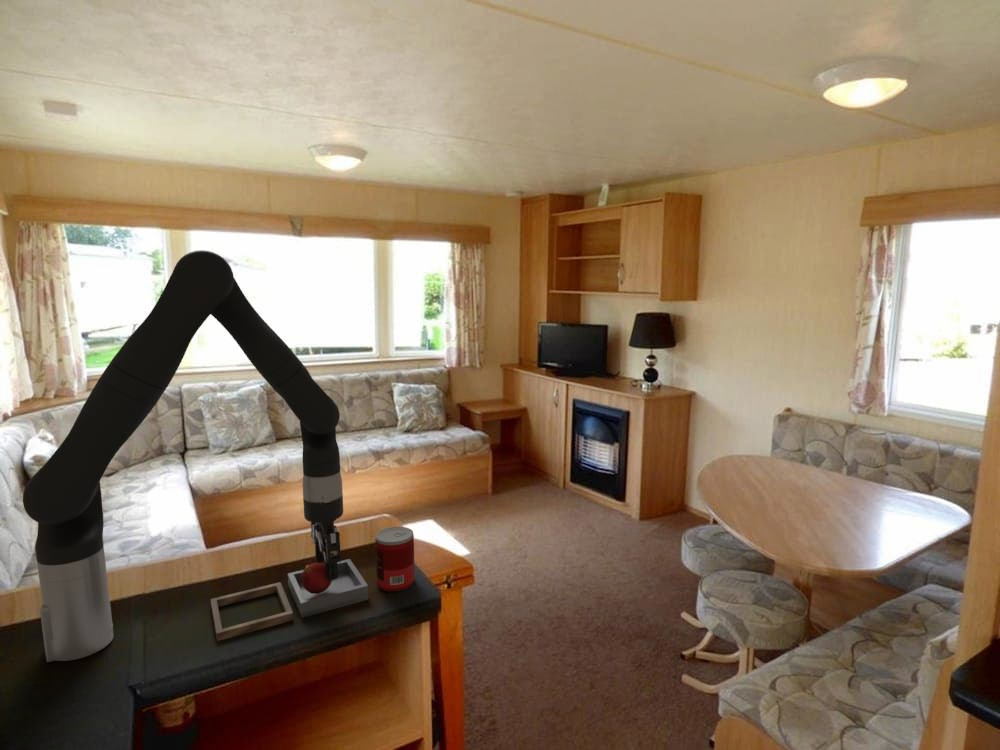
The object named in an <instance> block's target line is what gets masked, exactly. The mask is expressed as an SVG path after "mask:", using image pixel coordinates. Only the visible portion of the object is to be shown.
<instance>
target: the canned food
mask: <svg viewBox="0 0 1000 750" xmlns="http://www.w3.org/2000/svg"><path fill="white" fill-rule="evenodd" d="M414 537H415V536H414V531H413V530H412V529H411V528H408V527H406V526H391V527H386V528H383V529H381V530H379V531H378V532H376V533H375V537H374V538H375V539H374V540H375V569H376V573H375V574H376V584H377V586H378V588H379V589H380V590H381V591H385V592H389V591H396V592H399V591H398V590H401V591H404V590H406V589H408V588H410V587H411V586H412V585H413V583H414V580H415V539H414ZM403 589H404V590H403Z"/></svg>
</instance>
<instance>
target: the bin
mask: <svg viewBox="0 0 1000 750" xmlns="http://www.w3.org/2000/svg"><path fill="white" fill-rule="evenodd" d="M337 566H338V578H337V579H334V580H332V582H331V585H330V586H329V587H328V588H327V589H326V590H325V591H324V592H321V593H319V594H311V593H310V592H308V591H307V590H305V588H304V587H303V584H302V581H301V578H302V574H303V571H304V569H301V570H296V571H293V572H289V573H287V581H288V582H287V584H288V589H289V592H290V594H291V596H292V598H293V601H294V604H295V605H296V608H297V610H298V613H299V615H300V617H301V618H306V617H311V616H314V615H317V614H322V613H324V612H328V611H333V610H335V609H340V608H343V607H346V606H350V605H353V604H357V603H361V602H364V601H369V600H368V599H370V598H369V585H368V583H367V582H366V580H365V578H363V576H362V574H361V572H360V571H359V569H357V567H356V566H355V564H354V563H353V562H352V560H351V558H348V559H344V560H341V562H337Z"/></svg>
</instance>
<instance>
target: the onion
mask: <svg viewBox="0 0 1000 750" xmlns="http://www.w3.org/2000/svg"><path fill="white" fill-rule="evenodd" d="M303 570H304V571H303V574H302V578H301V581H302V584H303V587H304V588H305V590H307V591H308V592H310V593H311V594H319V593H321V592H324V591H325V590H326V589H327V588H328V587H329V586H330V585H331V582H332V580H330V581H328V580H327V579H326V571H325V563H323V562H319V563H318V562H314V563H309V564H307V565H306V566H305V568H304V569H303Z"/></svg>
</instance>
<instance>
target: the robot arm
mask: <svg viewBox="0 0 1000 750" xmlns="http://www.w3.org/2000/svg"><path fill="white" fill-rule="evenodd" d="M210 315H211V316H212V317H213V318H214V319H215V320H217V322H218V323H219V324H221V326H222V327H223V328H224V329H225V330H226V332H228V333H229V335H230V336H231V337H232V338H233V339H234V341H235V342H236V344H237V345H238V347H239V348H240V349H241V351H242V353H244V354H245V356H246V357H247V359H248V360H249V362H250V363H251V364H252V365H253V366H254V368H255V370H256V371H257V372H258V373H259V374H260V376H261V377H262V378H263V379H264V381H266V382H267V384H269V386H270V387H271V388H272V389H273V390H274V391H275V392H276V393H277V394H278V395H279V396H280V397H281V398H282V399H283V401H284V402H285V403H286V405H287V406H288V407H289V409H290V410H291V412H292V413H293V414H294V415H295V418H297V419H298V420H299V426H300V435H301V441H302V472H303V473H302V499H303V501H302V502H303V516H304V519H305V520H306V521H307V522H310V532H311V533H310V537H311V539H313V540H312V543H313V545H314V552H315V561H316V563H323V562H324V564H325V571H326V579H327V580H328V581H330V580H334V579H337V578H338V566H337V562H341V561H342V557H341V556H342V555H341V552H342V551H341V537H340V536H341V534H340V532H339V531H338V528H337V525H335V524H334V523H335V521H336V520H338V519H340V518H341V517H342V516H343V514H344V495H343V494H344V493H343V479H342V475H341V474H342V473H341V461H340V459H341V457H340V456H341V455H340V454H341V453H340V449H339V445H338V441H337V433H336V432H337V426H338V424H339V421H340V416H341V415H340V410H339V407H338V405H337V404H336V402H335V401H334V400H333V398H331V396H330V395H329V394H327V392H325V391H324V389H323V388H322V387H321V386H320V385H319V384H318V383H317V382H316V380H314V379H313V377H312V376H311V374H310V372H309V370H308V369H307V367H306V366H305V365H304V364H303V362H302V360H300V358H299V357H298V356H297V355H296V354H295V353H294V351H293V350H292V349H291V348H290V347H289V346H288V344H286V343H285V341H284V340H283V339H282V338H281V337H280V336H279V335H278V334H277V332H275V331H274V330H273V328H271V327H270V325H269V324H268V323H267V322H266V321H265V320H264V319H263V318H262V316H261V315H260V314H259V313H258V311H256V310H255V308H254V306H253V305H252V304H251V303H250V301H249V299H248V298H247V297H246V296H245V293H244V292H243V290H242V289H241V287H240V286H239V284H238V282H237V280H236V278H235V277H234V273H233V269H232V267H231V265H230V264H229V262H227V260H226V259H225V258H224V257H223V256H221V255H220V254H218V253H215V252H213V251H210V250H205V249H204V250H203V249H202V250H192V251H190V252H188V253H186V254H184V255H183V256H181V258H180V259H179V260H178V261H177V262H176V264H175V265H174V269H173V270H172V272H171V275H170V277H169V279H167V283H166V285H165V286H164V289H163V290H162V292H161V294H160V296H159V297H158V300H157V301H156V303H155V305H154V307H153V308H152V310H151V311H150V312H149V314H148V316H146V318H145V319H144V320H143V321H142V322H141V323H140V325H139V326H138V327H137V328H136V329H135V330H134V331H133V333H132V334H131V335H130V336H129V337H128V338H127V340H126V341H125V342H124V344H122V346H120V348H119V350H118V351H117V352H116V354H115V355H114V356H113V358H112V359H111V361H110V362H109V363H108V365H107V366H106V368H105V370H104V371H103V372H102V374H101V375H100V377H99V379H98V380H97V382H96V383H95V385H94V386H93V388H92V390H91V392H90V393H89V395H88V396H87V399H86V400H85V402H84V403H83V406H82V407H81V409H80V411H79V414H78V416H77V417H76V419H75V421H74V424H73V425H72V427H71V428H70V431H69V433H68V434H67V435H66V437H65V438H64V440H63V441H62V442H61V444H60V445H59V447H57V449H56V450H55V451H54V452H53V454H52V455H51V456H50V458H49V459H48V460H47V461H46V463H45V462H44V464H43V466H41V468H39V470H37V471H36V472H35V473H34V475H33V476H32V477H31V478H30V479H28V481H27V483H26V485H25V487H24V490H23V493H22V505H23V509H24V510H25V513H26V514H27V516H28V517H30V518H31V520H33V521H34V522H36V523H37V536H36V541H35V546H34V549H35V550H34V551H35V558H36V565H37V574H38V578H39V579H38V580H39V586H40V587H39V588H40V594H41V601H42V603H41V607H40V609H39V614H40V622H41V627H42V628H41V629H42V630H41V631H42V635H43V643H44V644H43V646H44V651H45V652H44V653H45V658H46V663H50V662H55V661H56V662H58V661H59V662H66V661H67V662H69V661H75V660H79V659H83V658H86V657H89V656H91V655H93V654H96V653H97V652H99V651H101V650H103V649H104V648H106V647H107V646H108V645H109V644H110V643H111V642H112V641H113V639H114V624H113V617H112V610H111V609H112V608H111V607H112V606H111V601H110V591H109V584H108V583H109V582H108V574H107V573H108V572H107V565H106V556H105V545H104V511H103V500H102V490H101V482H100V481H101V480H102V478H103V475H104V474H105V472H106V470H107V469H108V466H109V465H110V463H111V461H112V460H113V458H114V457H115V455H116V454H117V453H118V451H119V450H120V449H121V448H122V447H123V445H124V444H125V443H126V442H127V441H128V440H129V439H130V437H131V436H132V435H133V434H134V433H135V432H136V431H137V429H138V428H139V427H140V425H141V424H142V423H143V422H144V420H145V419H146V418H147V417H148V416H149V414H150V412H152V411H153V409H154V408H155V406H156V405H157V403H158V402H159V400H160V399H161V397H162V396H163V394H164V393H165V391H166V390H167V388H168V386H169V385H170V383H171V381H172V380H173V378H174V376H175V374H176V372H177V371H178V369H179V367H180V365H181V363H182V362H183V359H184V357H185V355H186V353H187V350H188V347H189V346H190V344H191V341H192V340H193V338H194V336H195V334H196V333H197V332H198V330H199V329H200V328H201V326H202V325H203V324H204V323H205V321H207V319H208V318H209V317H210ZM331 553H333V555H331Z"/></svg>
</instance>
